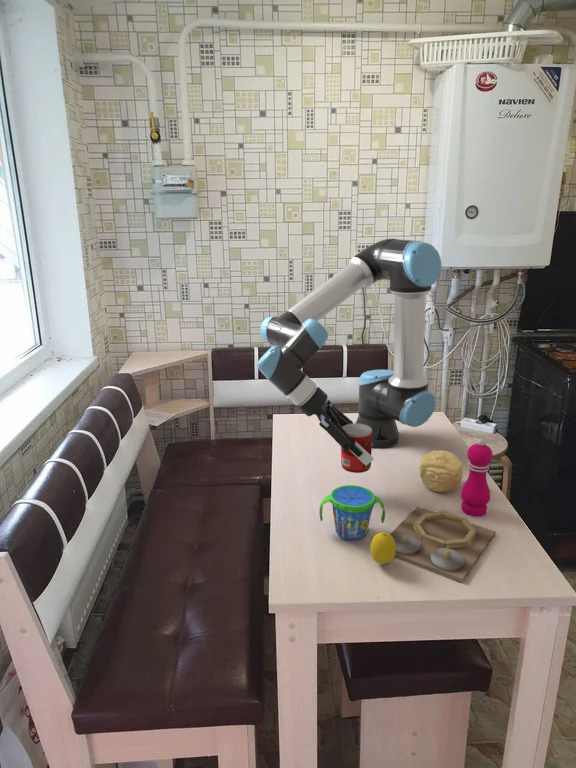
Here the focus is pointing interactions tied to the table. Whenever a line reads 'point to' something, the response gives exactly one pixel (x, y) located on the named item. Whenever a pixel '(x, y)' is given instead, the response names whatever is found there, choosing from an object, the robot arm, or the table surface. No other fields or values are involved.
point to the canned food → (364, 439)
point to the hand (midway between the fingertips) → (369, 454)
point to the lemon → (383, 548)
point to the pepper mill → (477, 480)
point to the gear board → (441, 542)
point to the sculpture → (440, 471)
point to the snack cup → (352, 510)
